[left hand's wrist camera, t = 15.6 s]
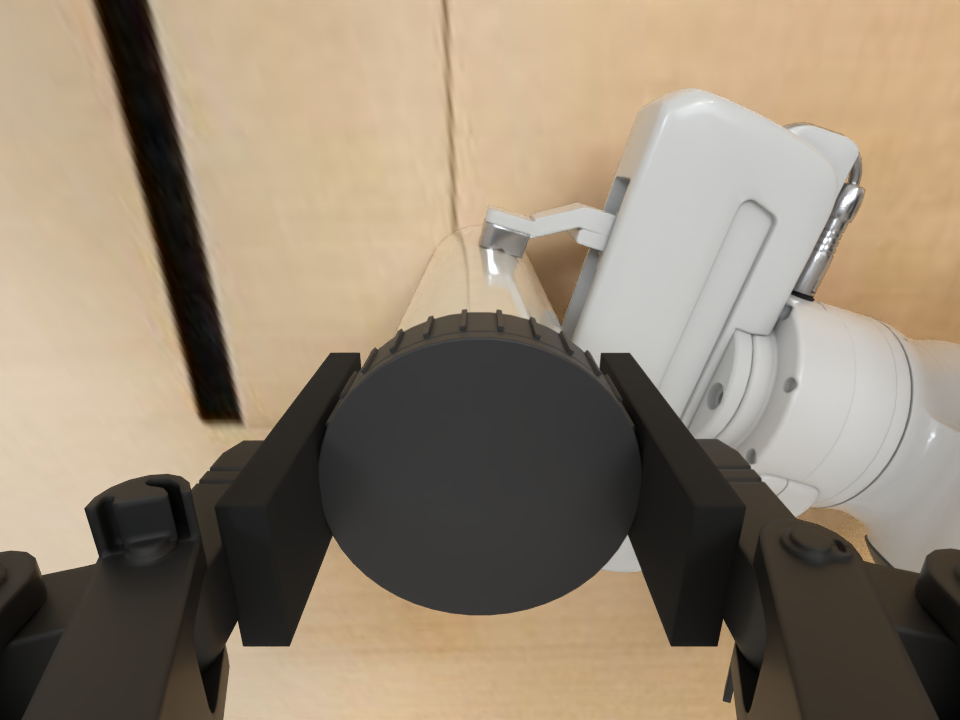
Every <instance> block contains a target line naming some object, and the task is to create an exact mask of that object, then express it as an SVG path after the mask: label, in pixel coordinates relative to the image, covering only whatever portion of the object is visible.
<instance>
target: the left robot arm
mask: <svg viewBox="0 0 960 720" xmlns="http://www.w3.org/2000/svg"><path fill="white" fill-rule="evenodd" d="M599 369H600V371H601V372H602V374H603V375H606V374H608V375H609V377H610V379H611V380H612V382H613V384H614V386H615V387H616V389H617V391H618V392H619V394H620V396H621V398H622V399H623V401H621V402H622V404H623V406H624V408H625V409H626V411H627V413H628V415H629V416H630V418H631V420H632V422H633V423H634V425H635V428H636V430H634V433H635V436H636V438H637V441H638V444H639V449H640V454H641V460H642V479H641V488H640V496H639V503H638V510H637V514H636V517H635V520H634V522H633V524H632V526H631V529H630V531H629V533H628V537H629V539H630V542H631V544H632V547H633V550H634V552H635V555H636V557H637V560H638V562H639V565H640V568H641V570H642V573H643V575H644V578H645V581H646V583H647V586H648V588H649V591H650V593H651V596H652V599H653V601H654V604H655V606H656V609H657V611H658V614H659V617H660V619H661V622H662V624H663V627H664V629H665V632H666V635H667V637H668V640H669V642H670V645H671V646H718V641H719V636H720V631H721V627H722V622H723V619H724V621H725V623H726V625H727V627H728V628H729V630H730V632H731V634H732V636H733V638H734V640H735V645H734V649H733V654H732V658H731V663H730V667H729V671H728V676H727V680H726V685H725V690H724V696H723V701H725V702H728V703H730V702H731V698H732V694H733V691H734V698H735V707H736V715H737V720H960V550H958V549H952V548H949V549H938V550H934V551H932V552H931V553H930V554H928V555H927V556H926V558H925V561H924V563H923V566H922V569H921V572H920V573H917V572H912V571H907V570H902V569H897V568H892V567H888V566H883V565H878V564H873V563H869V562H866V561H863V559H862V557H861V556H860V554H859V553H858V552H857V550H856V549H855V548H854V547H853V545H852V544H851V543H849V542H848V541H847V540H845V539H844V538H843V537H841V536H840V535H838V534H837V533H835V532H833V531H831V530H829V529H827V528H824V527H822V526H820V525H818V524H814V523H810V522H807V521H803V520H799V519H796V517H795V516H794V515H793V514H792V513H791V512H790V511H789V509H788V508H787V507H786V506H785V505H784V504H783V502H782V501H781V500H780V499H779V498H778V497H777V496H776V494H775V493H774V492H773V491H772V490H771V489H770V488H769V486H768V485H767V484H766V483H765V482H762V478H761V477H760V476H759V475H758V474H757V473H756V471H755V470H754V469H751V466H750V465H749V463H748V462H747V461H746V460H745V459H744V458H743V457H742V455H741V454H740V453H739V452H738V451H736V450H735V449H733V448H731V447H730V446H728V445H727V444H725V443H723V442H722V441H720V440H718V439H695V438H694V437H693V435H692V434H691V433H690V431H689V430H688V429H687V427H686V426H685V425H684V423H683V422H682V421H681V419H680V418H679V417H678V416H677V414H676V413H675V412H674V410H673V409H672V408H671V406H670V405H669V404H668V402H667V401H666V400H665V398H664V397H663V396H662V394H661V393H660V392H659V390H658V389H657V388H656V386H655V385H654V384H653V383H652V381H651V380H650V379H649V377H648V376H647V375H646V373H645V372H644V371H643V369H642V368H641V367H640V365H639V364H638V363H637V361H636V360H635V359H634V357H633V356H632V355H631V354H630V353H601V356H600V368H599ZM360 370H361V360H360V353H330V354H329V356H328V357H327V358H326V360H325V361H324V362H323V364H322V365H321V366H320V368H319V369H318V370H317V371H316V373H315V374H314V375H313V377H312V378H311V379H310V381H309V382H308V383H307V385H306V386H305V387H304V389H303V390H302V391H301V393H300V394H299V395H298V397H297V398H296V399H295V401H294V402H293V403H292V404H291V406H290V407H289V408H288V410H287V411H286V412H285V414H284V415H283V416H282V418H281V419H280V420H279V422H278V423H277V424H276V426H275V427H274V428H273V430H272V431H271V432H270V433H269V435H268V436H267V437H266V439H265V440H264V441H242V442H241V443H239V444H237V445H236V446H234V447H232V448H231V449H229V450H227V451H226V452H224V453H223V454H222V455H221V456H220V457H219V458H218V460H217V461H216V462H215V463H214V464H213V465H212V466H211V468H210V471H207V472H206V473H205V475H204V476H203V477H202V478H201V479H200V480H199V484H196V485H195V486H194V487H193V488H192V490H191V488H190V483H189V482H188V481H187V480H185V479H184V478H183V477H181V476H176V475H170V474H159V475H148V476H144V477H139V478H135V479H131V480H128V481H125V482H123V483H120V484H118V485H116V486H113V487H111V488H109V489H107V490H106V491H104V492H103V493H101V494H99V495H98V496H96V497H95V498H94V499H93V500H92V501H91V502H90V503H89V504H88V505H87V506H86V507H85V508H84V509H85V512H86V516H87V519H88V522H89V525H90V528H91V532H92V535H93V538H94V541H95V545H96V548H97V551H98V554H99V558H98V560H97V563H96V564H93V565H89V566H84V567H80V568H75V569H70V570H65V571H60V572H56V573H51V574H46V575H41V572H40V569H39V567H38V564H37V561H36V558H35V557H33V556H32V555H30V554H29V553H27V552H20V551H5V552H0V720H223V717H224V708H225V700H226V692H227V683H228V675H229V660H228V654H227V649H226V645H225V644H226V642H227V640H228V638H229V636H230V634H231V632H232V630H233V629H234V627H235V625H236V623H237V621H238V624H239V629H240V633H241V638H242V643H243V646H290V644H291V641H292V639H293V636H294V634H295V631H296V628H297V626H298V623H299V621H300V618H301V615H302V613H303V610H304V608H305V605H306V603H307V600H308V597H309V595H310V592H311V590H312V587H313V585H314V582H315V579H316V577H317V574H318V572H319V569H320V567H321V564H322V561H323V559H324V556H325V554H326V551H327V548H328V546H329V543H330V541H331V538H332V536H333V535H332V533H331V531H330V528H329V526H328V524H327V522H326V519H325V517H324V512H323V506H322V498H321V490H320V482H319V472H318V460H319V454H320V449H321V444H322V441H323V438H324V436H325V433H326V430H327V427H326V426H325V425H326V422H327V420H328V419H329V417H330V415H331V413H332V412H333V410H334V408H335V407H336V405H337V403H338V401H339V400H340V398H339V396H340V394H341V393H342V391H343V389H344V388H345V386H346V384H347V382H348V381H349V379H350V377H351V376H352V374H353V372H354V371H356V372H357V373H358V372H359V371H360Z"/></svg>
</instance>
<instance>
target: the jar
mask: <svg viewBox="0 0 960 720" xmlns="http://www.w3.org/2000/svg"><path fill="white" fill-rule="evenodd" d="M481 230H482V226H471V227H466V228H463V229H460V230H458V231H456V232H454V233H452V234H451V235H449V236H448V237H447V238H446V239H445V240H443V241H442V242H441V244H440V245H439V246H438V247H437V249H436V250H435V252H434V254H433V256H432V258H431V260H430V262H429V264H428V266H427V268H426V270H425V273H424V275H423V277H422V279H421V281H420V283H419V285H418V287H417V289H416V291H415V293H414V296H413V298H412V300H411V302H410V304H409V306H408V308H407V310H406V312H405V314H404V316H403V319H402V321H401V323H400V325H399V327H398V329H397V331H398V330H400V329H403V331H406V330H408V329H410V328H411V327H414V326H416V325H419V324H421V323H424V322H426V321H427V319H428V317H429V316H433V317H434V319H435V318H439V317H443V316H447V315H452V314H460V313H462V310H463V309H467V312H493V313H496V310H497V309H498V310H502V314H508V315H513V316H517V317H521V318H525V319H530V317H534V318H535V319H536V322H537V323H539V324H541V325H544V326H546V327H549V328H551V329H552V330H554V331H556V332H558V333H560V331H561V330H562V331H563V329H562V327H561V324H560V322H559V320H558V318H557V316H556V314H555V312H554V310H553V308H552V306H551V303H550V301H549V299H548V297H547V295H546V293H545V291H544V289H543V287H542V285H541V282H540V280H539V278H538V276H537V274H536V272H535V270H534V268H533V266H532V264H531V261H530V259H529V257H528V255H527V253H526V251H524V254H523V256H522V258H518V257H515V256H511V255H509V254H507V253H505V252H504V251H503V250H502V248H501V249H498V250H493V249H487V248H485V247H482V246H480V245H479V244H478V243H479V242H478V241H479V238H480V234H481ZM397 331H396V333H397ZM563 332H564V331H563ZM396 333H395V335H394V337H395V336H396ZM394 337H393V338H394Z"/></svg>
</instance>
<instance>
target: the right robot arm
mask: <svg viewBox="0 0 960 720" xmlns="http://www.w3.org/2000/svg"><path fill="white" fill-rule="evenodd" d="M848 175H849V178H848V182H847V183H844V182H845V181H846V179H847V177H848ZM861 176H862V159H861V156H860V153H859V148H858V146H857V145H856V143H855V142H853V141H852V140H851V139H849V138H848V137H846V136H845V135H843V134H841V133H838V132H835V131H832V130H829V129H826V128H823V127H820V126H817V125H814V124H811V123H805V122H800V123H792V124H788V125H785V126H781V125H779V124H777V123H775V122H773V121H772V120H770V119H768V118H766V117H764V116H762V115H760V114H758V113H756V112H754V111H752V110H750V109H748V108H746V107H744V106H742V105H740V104H738V103H735V102H733V101H731V100H728V99H726V98H724V97H721V96H719V95H716V94H714V93H711V92H708V91H705V90H702V89H698V88H684V89H679V90H675V91H672V92H669V93H667V94H665V95H663V96H661V97H659V98H657V99H655V100H653V101H652V102H650V103H648V104H646V105H644V106H643V107H642V108H641V109H640V110H639V112H638V114H637V116H636V119H635V121H634V124H633V127H632V129H631V132H630V135H629V138H628V141H627V143H626V146H625V149H624V152H623V154H622V157H621V160H620V163H619V166H618V168H617V171H616V174H615V177H614V179H613V182H612V185H611V188H610V191H609V193H608V196H607V199H606V202H605V204H604V207H603V210H601V209H597V208H594V207H591V206H587V205H584V204H581V203H573V204H569V205H565V206H561V207H557V208H553V209H550V210H546V211H542V212H538V213H534V214H531V216H530V217H528V216H524V215H521V214H518V213H515V212H511V211H508V210H505V209H501V208H498V207H493V206H488V208H487V212H486V216H485V219H484V223H483V226H482V230H481V234H480V238H479V241H478V242H479V243H478V244H479V245H480V246H482V247H485V248H487V249H493V250H498V249H501V248H502V250H503V251H504V252H505V253H507V254H509V255H511V256H515V257H518V258H522V256H523V254H524V251H525V248H526V245H527V242H528V239H532V238H536V237H541V236H545V235H549V234H553V233H558V232H562V231H566V230H568V234H569V236H570V237H571V238H572V239H573V240H574V241H575V242H577V243H578V244H581V245H584V246H587V247H589V249H588V252H587V255H586V257H585V260H584V263H583V266H582V268H581V271H580V274H579V277H578V280H577V282H576V285H575V288H574V291H573V293H572V296H571V299H570V302H569V305H568V307H567V310H566V313H565V316H564V319H563V321H562V324H561V327H562V329H563V331H564V332H565V333H566V335H567V337H568V339H569V340H570V341H571V342H573V343H574V344H575V345H577V346H578V347H579V348H581V349H582V350H583V351H584V352H585V351H586V350H588V351H589V352H590V353H591V355H592V356H593V358H594V360H595V362H596V364H597V365H598V367H599V368H600V356H601V353H630V354H631V355H632V356H633V357H634V359H635V360H636V361H637V363H638V364H639V365H640V367H641V368H642V369H643V371H644V372H645V373H646V375H647V376H648V377H649V379H650V380H651V381H652V383H653V384H654V385H655V386H656V388H657V389H658V390H659V392H660V393H661V394H662V396H663V397H664V398H665V400H666V401H667V402H668V404H669V405H670V406H671V408H672V409H673V410H674V412H675V413H676V414H677V416H678V417H679V418H680V419H681V421H682V422H683V423H684V425H685V426H686V427H687V429H688V430H689V431H690V433H691V434H692V435H693V437H694V438H695V439H718V440H720V441H722V442H723V443H725V444H727V445H728V446H730V447H731V448H733V449H735V450H736V451H738V452H739V453H740V454H741V455H742V457H743V458H744V459H745V460H746V461H747V462H748V463H749V465H750V466H751V469H754V470H755V471H756V473H757V474H758V475H759V476H760V477H761V478H762V482H765V483H766V484H767V485H768V486H769V488H770V489H771V490H772V491H773V492H774V493H775V494H776V496H777V497H778V498H779V499H780V500H781V501H782V502H783V504H784V505H785V506H786V507H787V508H788V509H789V511H790V512H791V513H792V514H793V515H794V516H795V517H797V516H799V515H801V514H802V513H803V512H805V511H806V510H807V509H809V508H826V509H836V510H840V511H843V512H845V513H848V514H849V515H851V516H853V517H854V518H856V519H857V520H859V521H860V522H861V523H863V524H864V525H865V527H866V528H867V531H868V534H867V535H865V540H866V543H867V546H868V549H869V551H870V554H871V556H872V558H873V560H874V562H875V564H878V565H883V566H888V567H892V568H897V569H902V570H907V571H912V572H917V573H920V572H921V569H922V566H923V563H924V561H925V558H926V556H927V555H928V554H930V553H931V552H932V551H934V550H938V549H949V548H952V549H958V550H960V344H957V343H954V342H949V341H943V340H932V339H918V340H913V339H909V338H907V337H906V336H904V335H903V334H902V333H901V332H899V331H898V330H897V329H895V328H893V327H892V326H890V325H888V324H886V323H884V322H882V321H880V320H878V319H875V318H872V317H869V316H865V315H862V314H859V313H855V312H852V311H849V310H845V309H842V308H839V307H835V306H832V305H829V304H826V303H822V302H819V301H816V300H815V299H813V297H814V295H815V293H816V291H817V289H818V287H819V285H820V283H821V281H822V280H823V278H824V276H825V274H826V272H827V270H828V268H829V266H830V264H831V262H832V259H833V257H834V255H833V254H835V252H836V247H837V246H838V244H839V242H838V241H839V240H840V239H841V237H842V234H843V233H844V231H845V229H846V228H847V226H848V224H849V223H851V222H852V221H853V219H854V218H855V216H856V214H857V213H858V211H859V208H860V206H861V204H862V201H863V198H864V195H865V189H864V188H863V187H860V186H859V184H860V180H861ZM601 570H604V571H612V572H629V573H630V572H640V571H642V570H641V568H640V565H639V562H638V560H637V557H636V555H635V552H634V550H633V547H632V544H631V542H630V539H629V537H628V535H627V537H626V538H625V540H624V542H623V543H622V545H621V546H620V548H619V550H618V551H617V552H616V553H615V554H614V556H613V557H612V558H611V559H610V560H609V562H608V563H607V564H606V565H605V566H604V567H603V568H602V569H601Z"/></svg>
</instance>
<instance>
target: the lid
mask: <svg viewBox="0 0 960 720" xmlns="http://www.w3.org/2000/svg"><path fill="white" fill-rule="evenodd" d="M339 398H340V400H339V401H338V403H337V405H336V407H335V408H334V410H333V412H332V413H331V415H330V417H329V419H328V420H327V422H326V425H325V426H326V427H327V430H326V433H325V436H324V438H323V441H322V444H321V449H320V454H319V460H318V472H319V482H320V490H321V498H322V506H323V512H324V517H325V519H326V522H327V524H328V526H329V528H330V531H331V533H332V535H333V536H334V538H335V540H336V541H337V543H338V544H339V546H340V548H341V549H342V550H343V552H344V553H345V554H346V555H347V557H348V558H349V559H350V560H351V561H352V563H353V564H354V565H355V566H356V567H358V568H359V569H360V570H361V571H362V572H363V573H364V574H365V575H366V576H367V577H369V578H370V579H371V580H373V581H374V582H375V583H377V584H378V585H379V586H381V587H382V588H384V589H386V590H388V591H389V592H391V593H393V594H395V595H396V596H398V597H400V598H403V599H405V600H407V601H410V602H412V603H414V604H417V605H420V606H423V607H427V608H430V609H433V610H438V611H443V612H448V613H453V614H463V615H497V614H507V613H513V612H518V611H523V610H527V609H531V608H534V607H537V606H540V605H543V604H546V603H548V602H551V601H553V600H555V599H558V598H560V597H562V596H564V595H566V594H567V593H569V592H571V591H573V590H574V589H576V588H578V587H579V586H581V585H582V584H584V583H585V582H586V581H588V580H589V579H590V578H592V577H593V576H594V575H595V574H596V573H597V572H598V571H600V570H601V569H602V568H603V567H604V566H605V565H606V564H607V563H608V562H609V560H610V559H611V558H612V557H613V556H614V554H615V553H616V552H617V551H618V550H619V548H620V546H621V545H622V543H623V542H624V540H625V538H626V537H627V535H628V533H629V531H630V529H631V526H632V524H633V522H634V520H635V517H636V514H637V510H638V503H639V496H640V488H641V479H642V460H641V454H640V449H639V444H638V441H637V438H636V436H635V433H634V430H636V428H635V425H634V423H633V422H632V420H631V418H630V416H629V415H628V413H627V411H626V409H625V408H624V406H623V404H622V402H621V401H623V399H622V398H621V396H620V394H619V392H618V391H617V389H616V387H615V386H614V384H613V382H612V380H611V379H610V377H609V375H608V374H606V375H603V374H602V372H601V371H600V369H599V367H598V365H597V364H596V362H595V360H594V358H593V356H592V355H591V353H590V352H589V351H588V350H586V351H585V352H584V351H583V350H582V349H581V348H579V347H578V346H577V345H575V344H574V343H573V342H571V341H570V340H569V339H568V337H567V335H566V333H565V332H563V331H562V330H561V331H560V333H558V332H556V331H554V330H552V329H551V328H549V327H546V326H544V325H541V324H539V323H537V322H536V319H535V318H534V317H530V319H525V318H521V317H517V316H513V315H508V314H502V310H498V309H497V310H496V313H493V312H467V309H463V310H462V313H460V314H452V315H447V316H443V317H439V318H435V319H434V317H433V316H429V317H428V319H427V321H426V322H424V323H421V324H419V325H416V326H414V327H411V328H410V329H408V330H406V331H403V329H400V330H398V331H397V333H396V336H395V337H394V338H393V339H391V340H390V341H389V342H387V343H386V344H385V345H383V346H382V347H381V348H379V349H376V348H374V349H373V350H372V351H371V353H370V355H369V357H368V358H367V360H366V362H365V364H364V366H363V367H362V368H361V370H360V371H359V372H358V373H357V372H356V371H354V372H353V374H352V376H351V377H350V379H349V381H348V382H347V384H346V386H345V388H344V389H343V391H342V393H341V394H340V396H339Z"/></svg>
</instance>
